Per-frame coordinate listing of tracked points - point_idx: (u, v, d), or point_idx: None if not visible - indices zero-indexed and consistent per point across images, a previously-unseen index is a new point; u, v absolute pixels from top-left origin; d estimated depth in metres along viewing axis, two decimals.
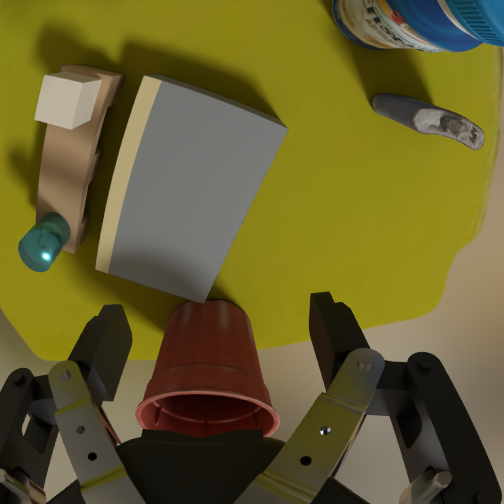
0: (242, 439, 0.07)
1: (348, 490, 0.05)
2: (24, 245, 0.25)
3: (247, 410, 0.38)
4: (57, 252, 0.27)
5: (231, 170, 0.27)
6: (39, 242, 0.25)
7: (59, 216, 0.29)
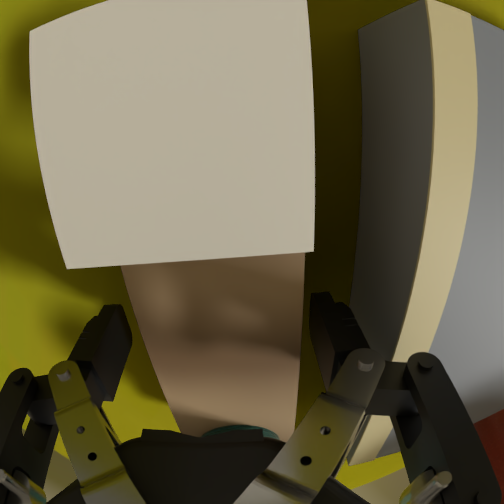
0: (242, 439, 0.07)
1: (348, 490, 0.05)
2: None
3: None
4: None
5: None
6: None
7: None
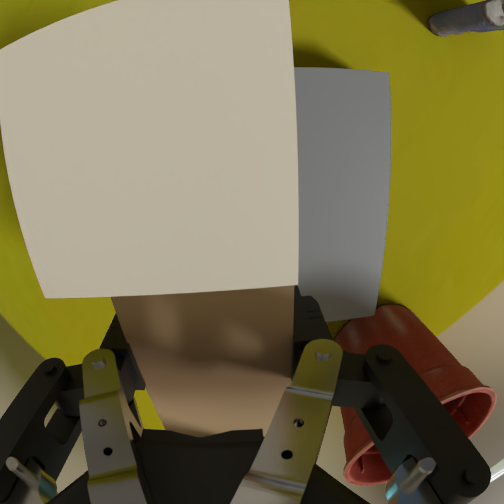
0: (242, 439, 0.07)
1: (348, 490, 0.05)
2: None
3: (450, 408, 0.27)
4: None
5: (355, 141, 0.20)
6: None
7: None
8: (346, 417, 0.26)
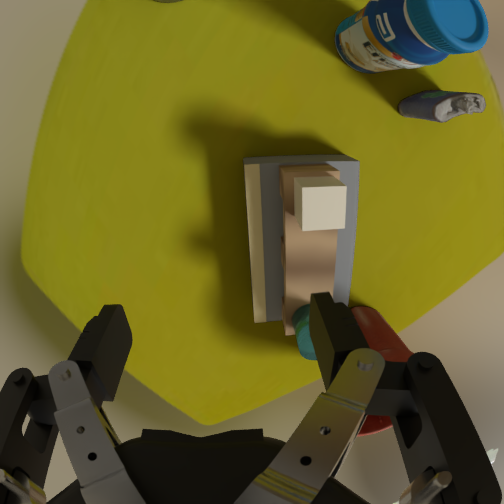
0: (242, 439, 0.07)
1: (348, 490, 0.05)
2: (307, 343, 0.32)
3: None
4: None
5: None
6: None
7: None
8: None
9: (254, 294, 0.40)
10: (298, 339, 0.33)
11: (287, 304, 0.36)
